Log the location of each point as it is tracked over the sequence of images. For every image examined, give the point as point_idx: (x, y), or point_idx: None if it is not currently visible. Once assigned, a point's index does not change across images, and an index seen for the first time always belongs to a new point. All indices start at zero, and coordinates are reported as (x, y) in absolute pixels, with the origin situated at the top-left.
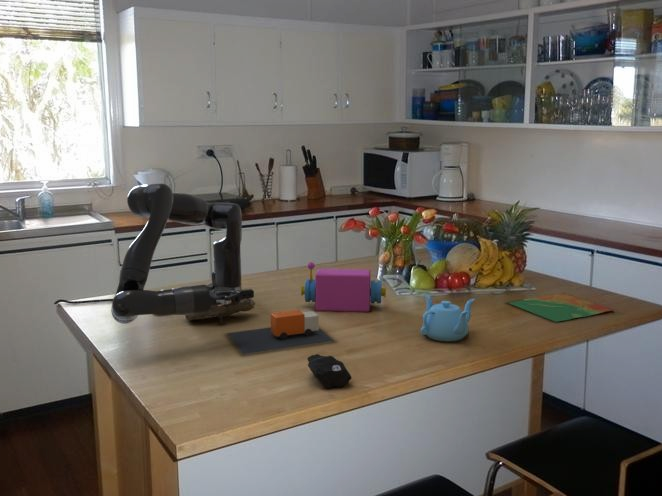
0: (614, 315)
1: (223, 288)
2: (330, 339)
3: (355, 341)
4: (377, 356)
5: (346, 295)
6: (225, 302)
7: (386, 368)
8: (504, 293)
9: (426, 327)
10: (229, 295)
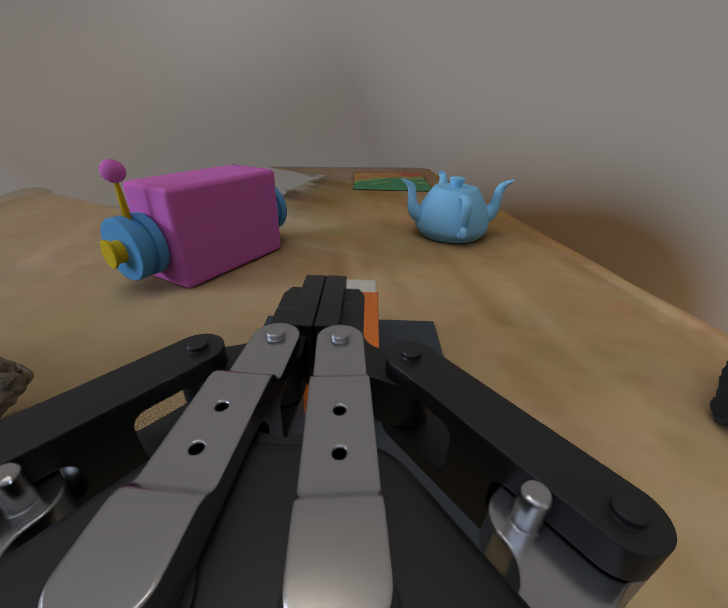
0: (429, 177)
1: (86, 420)
2: (421, 323)
3: (440, 299)
4: (542, 301)
5: (243, 227)
6: (640, 587)
7: (616, 310)
8: (319, 183)
9: (467, 226)
10: (491, 445)
